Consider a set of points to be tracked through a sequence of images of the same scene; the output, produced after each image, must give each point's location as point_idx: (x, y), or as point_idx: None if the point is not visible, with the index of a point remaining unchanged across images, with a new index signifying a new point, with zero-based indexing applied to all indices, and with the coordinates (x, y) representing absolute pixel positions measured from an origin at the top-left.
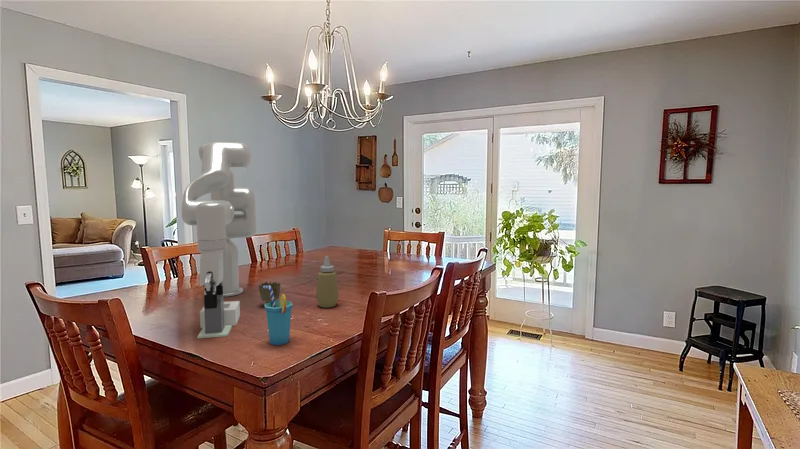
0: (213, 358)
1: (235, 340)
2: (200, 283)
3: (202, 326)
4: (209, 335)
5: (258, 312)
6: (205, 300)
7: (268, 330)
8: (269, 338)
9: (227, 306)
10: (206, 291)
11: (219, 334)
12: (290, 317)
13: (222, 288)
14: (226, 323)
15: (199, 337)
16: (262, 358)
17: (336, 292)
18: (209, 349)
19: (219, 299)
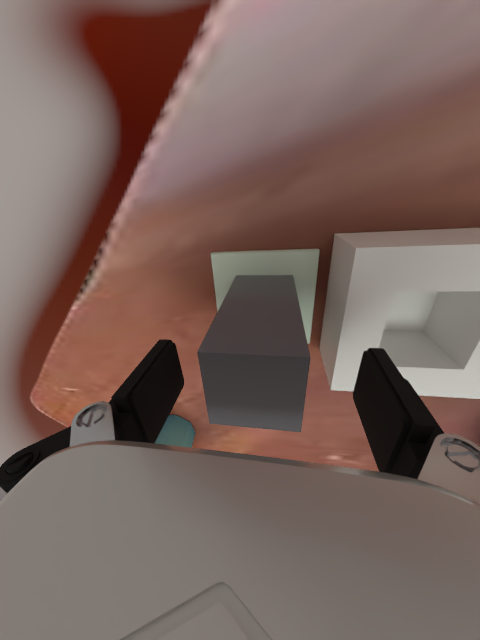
0: (75, 324)
1: (187, 356)
2: (15, 485)
3: (334, 243)
4: (215, 292)
5: (449, 401)
6: (136, 372)
7: (162, 437)
8: (167, 422)
9: (459, 347)
10: (39, 448)
11: None
12: None
13: (377, 457)
14: (324, 329)
15: (212, 259)
16: (93, 402)
17: None
18: (125, 306)
19: (210, 415)
